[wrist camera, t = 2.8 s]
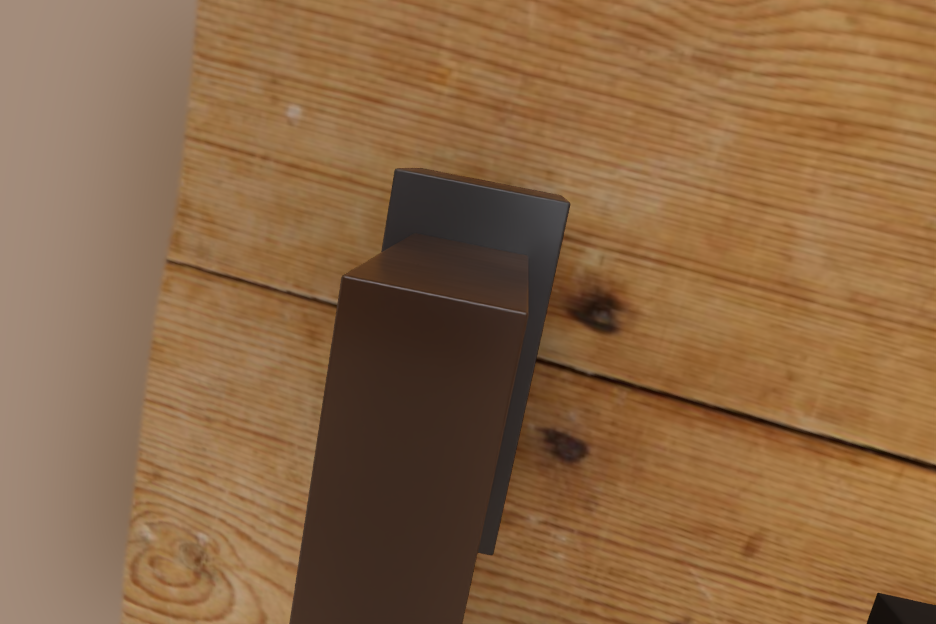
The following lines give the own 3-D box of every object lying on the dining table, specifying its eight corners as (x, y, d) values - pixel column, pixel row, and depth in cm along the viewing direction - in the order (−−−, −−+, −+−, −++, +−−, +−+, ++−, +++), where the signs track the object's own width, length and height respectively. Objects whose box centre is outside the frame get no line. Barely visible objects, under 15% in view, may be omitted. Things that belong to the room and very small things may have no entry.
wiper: (369, 463, 23) (234, 713, 13) (418, 167, 21) (307, 169, 11) (499, 491, 23) (473, 769, 13) (563, 195, 21) (598, 226, 10)
